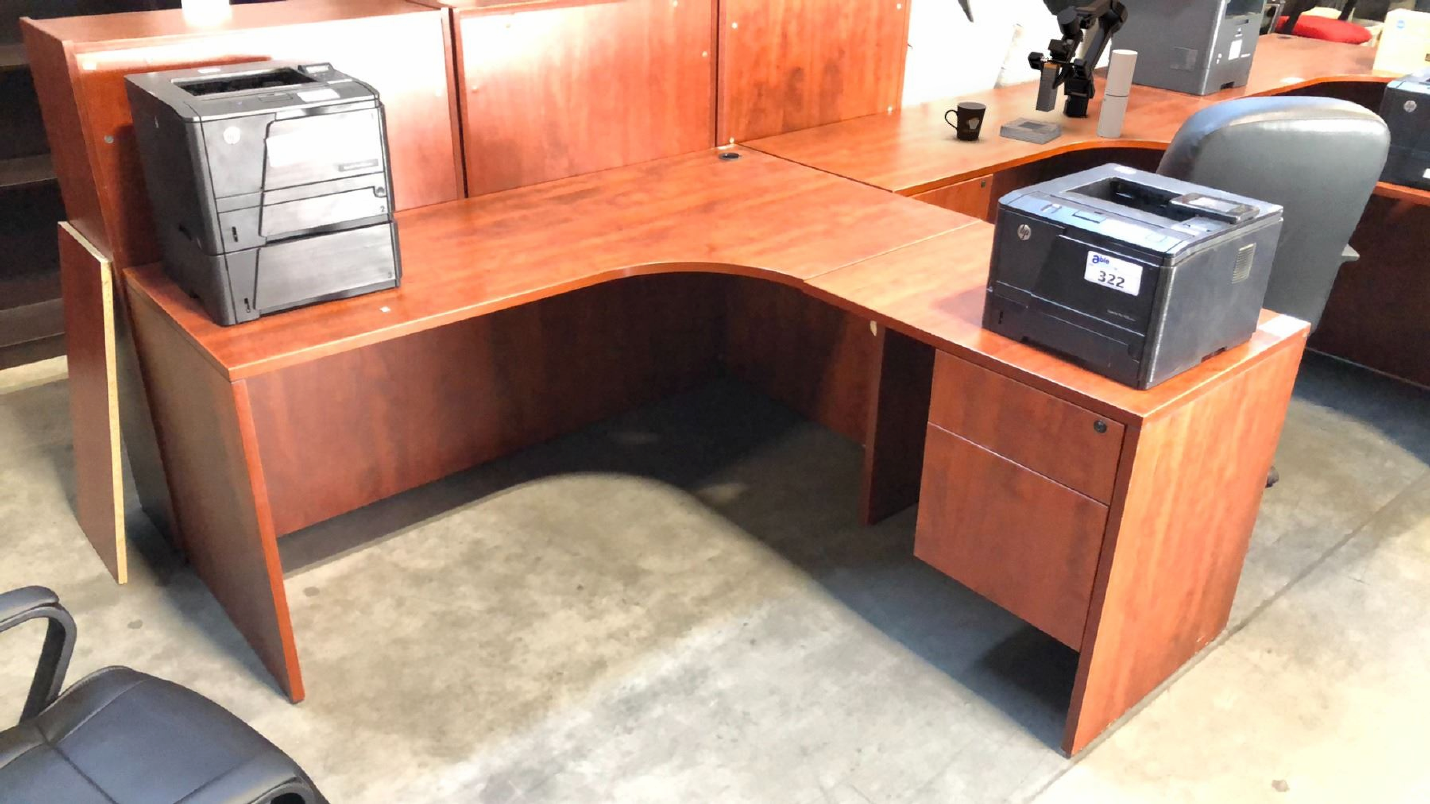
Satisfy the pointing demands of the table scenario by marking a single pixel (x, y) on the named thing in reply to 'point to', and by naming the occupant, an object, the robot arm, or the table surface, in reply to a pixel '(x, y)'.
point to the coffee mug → (968, 120)
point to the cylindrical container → (1116, 93)
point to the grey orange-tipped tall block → (1048, 87)
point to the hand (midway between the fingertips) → (1046, 87)
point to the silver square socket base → (1031, 130)
